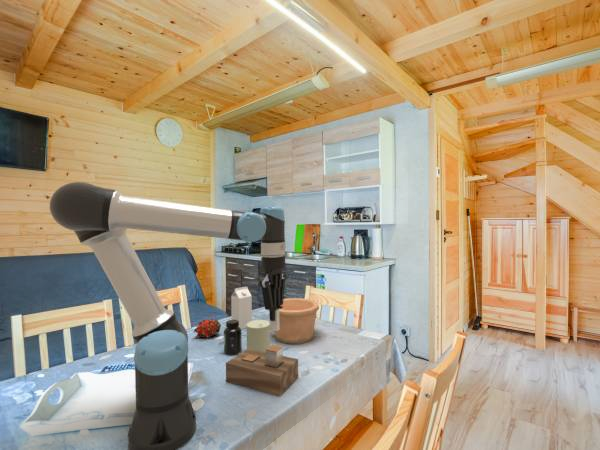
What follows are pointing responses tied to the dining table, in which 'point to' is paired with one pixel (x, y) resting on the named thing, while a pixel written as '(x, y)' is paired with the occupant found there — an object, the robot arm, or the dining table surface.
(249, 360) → the left pin
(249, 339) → the can
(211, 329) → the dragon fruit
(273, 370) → the socket block
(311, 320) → the pottery
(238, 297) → the milk carton
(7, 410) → the dining table surface
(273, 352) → the right pin
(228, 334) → the supplement bottle
